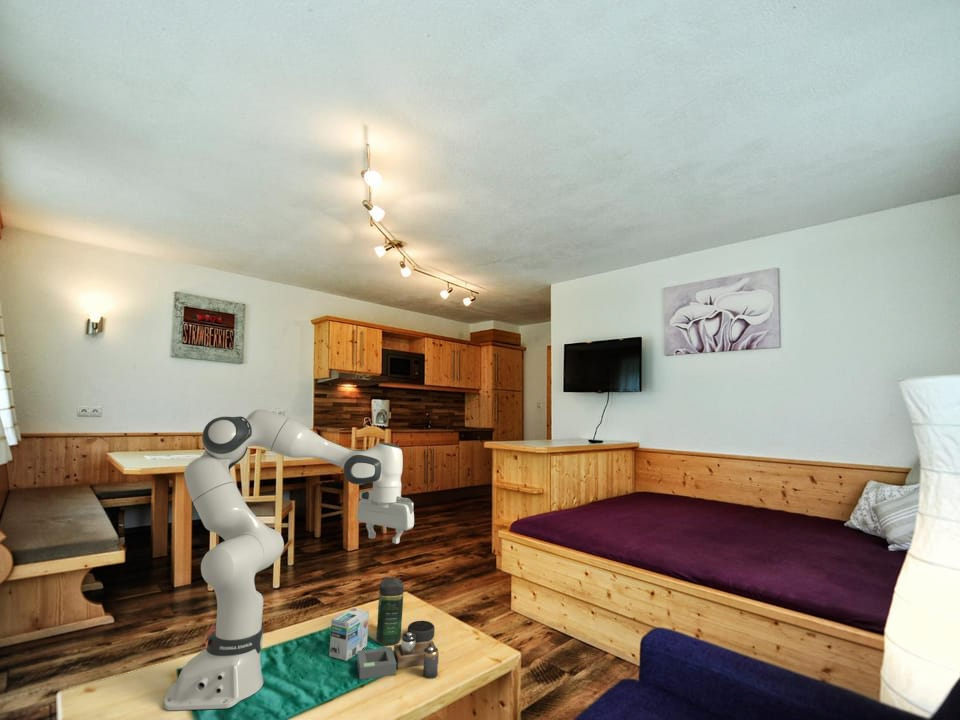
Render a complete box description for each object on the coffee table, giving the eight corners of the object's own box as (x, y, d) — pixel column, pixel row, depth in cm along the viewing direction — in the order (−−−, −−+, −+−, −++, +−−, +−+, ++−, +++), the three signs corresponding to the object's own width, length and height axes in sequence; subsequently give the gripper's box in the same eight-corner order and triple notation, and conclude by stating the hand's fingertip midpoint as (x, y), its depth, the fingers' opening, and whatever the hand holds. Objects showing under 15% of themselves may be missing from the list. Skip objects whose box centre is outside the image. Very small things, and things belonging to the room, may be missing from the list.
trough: (397, 668, 139) (398, 657, 139) (393, 655, 146) (394, 645, 147) (438, 663, 142) (438, 653, 143) (432, 651, 150) (432, 640, 150)
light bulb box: (346, 661, 142) (349, 623, 143) (328, 656, 144) (330, 618, 145) (367, 646, 151) (370, 610, 153) (350, 641, 154) (352, 606, 155)
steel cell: (403, 663, 141) (405, 637, 142) (398, 657, 144) (400, 631, 145) (416, 660, 143) (418, 635, 144) (410, 654, 146) (412, 629, 147)
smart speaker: (413, 646, 153) (413, 633, 153) (403, 635, 160) (403, 622, 161) (438, 641, 157) (439, 628, 158) (427, 630, 165) (428, 617, 165)
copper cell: (426, 680, 133) (427, 652, 134) (420, 673, 137) (421, 646, 138) (439, 676, 135) (440, 649, 136) (433, 669, 139) (434, 643, 140)
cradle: (359, 679, 132) (360, 667, 133) (356, 661, 142) (357, 650, 142) (395, 674, 136) (396, 662, 136) (390, 657, 145) (391, 646, 145)
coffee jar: (402, 645, 153) (405, 584, 155) (376, 647, 151) (380, 585, 153) (399, 632, 162) (402, 574, 164) (375, 633, 160) (379, 575, 163)
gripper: (419, 497, 149) (417, 543, 147) (368, 490, 159) (365, 533, 157) (407, 500, 143) (404, 548, 142) (355, 492, 153) (352, 537, 151)
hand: (383, 540), depth 149 cm, fingers open, 8 cm apart
